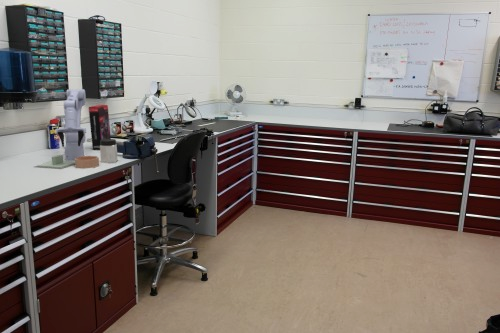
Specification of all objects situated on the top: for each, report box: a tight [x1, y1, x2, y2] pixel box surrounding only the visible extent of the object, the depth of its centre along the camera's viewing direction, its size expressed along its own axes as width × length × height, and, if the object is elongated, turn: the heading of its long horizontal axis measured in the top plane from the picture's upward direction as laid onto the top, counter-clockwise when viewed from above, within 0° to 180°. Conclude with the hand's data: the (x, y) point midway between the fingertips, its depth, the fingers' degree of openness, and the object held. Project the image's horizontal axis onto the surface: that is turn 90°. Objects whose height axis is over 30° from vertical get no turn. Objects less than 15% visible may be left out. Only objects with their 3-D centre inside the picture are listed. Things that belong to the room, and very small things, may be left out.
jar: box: [99, 138, 118, 164], centre depth 227 cm, size 9×8×12 cm
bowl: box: [74, 155, 100, 169], centre depth 216 cm, size 11×11×4 cm
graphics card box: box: [88, 104, 112, 151], centre depth 266 cm, size 17×7×27 cm, turn 179°
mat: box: [34, 164, 75, 170], centre depth 218 cm, size 17×17×1 cm
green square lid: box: [36, 154, 75, 169], centre depth 217 cm, size 14×14×5 cm
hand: (71, 146), depth 213 cm, fingers open, 7 cm apart
